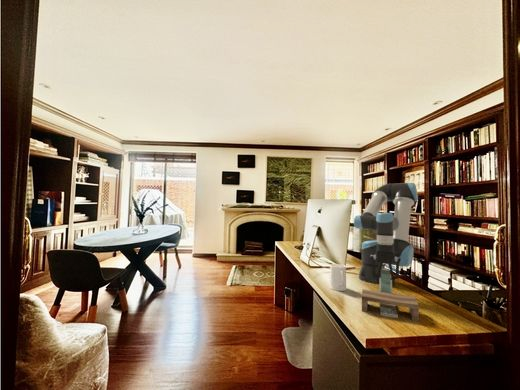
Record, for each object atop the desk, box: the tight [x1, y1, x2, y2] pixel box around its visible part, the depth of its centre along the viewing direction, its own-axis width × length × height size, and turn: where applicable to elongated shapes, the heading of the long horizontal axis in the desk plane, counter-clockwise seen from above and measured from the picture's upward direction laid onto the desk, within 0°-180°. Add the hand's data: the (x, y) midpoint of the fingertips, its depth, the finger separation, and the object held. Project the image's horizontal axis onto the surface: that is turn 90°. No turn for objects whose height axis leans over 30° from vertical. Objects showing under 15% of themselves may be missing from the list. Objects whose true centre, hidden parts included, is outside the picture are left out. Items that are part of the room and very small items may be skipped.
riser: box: [361, 288, 420, 322], centre depth 100 cm, size 10×20×6 cm, turn 65°
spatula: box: [379, 268, 397, 310], centre depth 112 cm, size 20×6×12 cm, turn 155°
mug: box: [329, 263, 347, 292], centre depth 127 cm, size 12×8×12 cm
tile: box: [379, 306, 399, 319], centre depth 98 cm, size 6×6×2 cm
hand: (385, 291), depth 119 cm, fingers closed on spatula, 4 cm apart
